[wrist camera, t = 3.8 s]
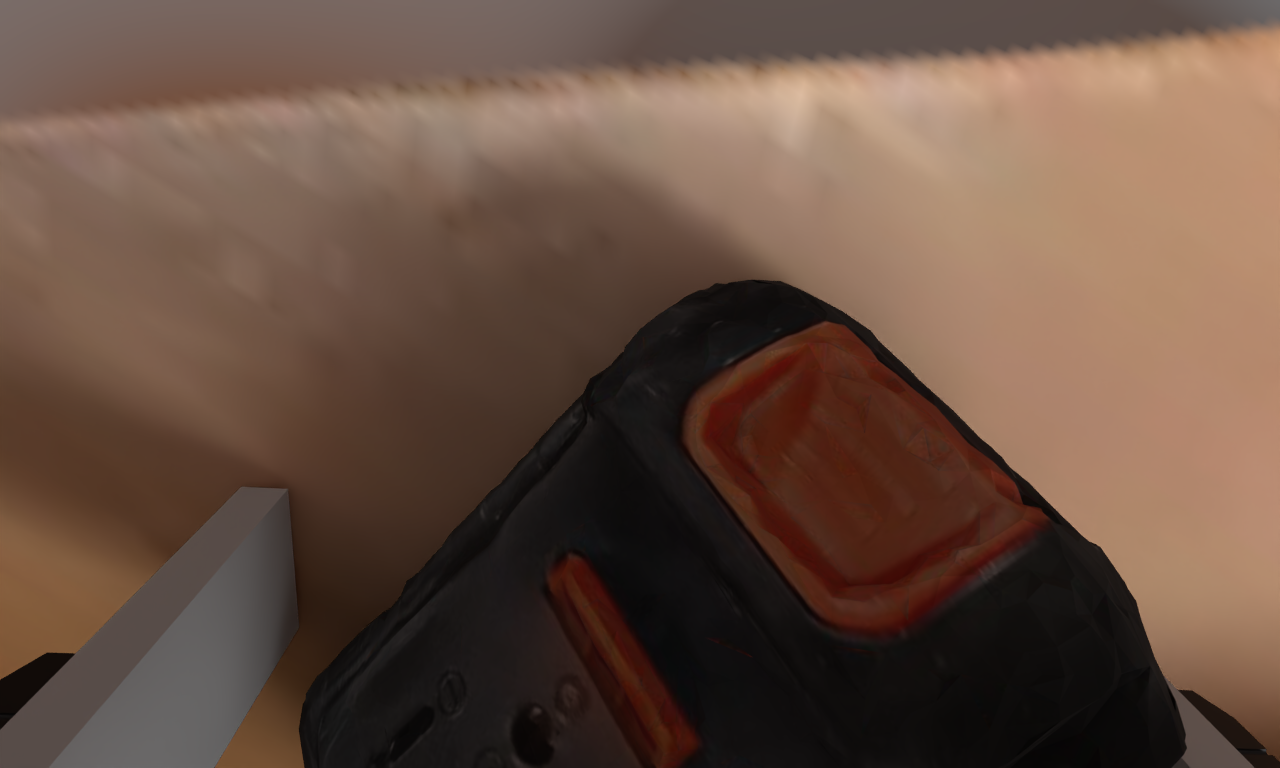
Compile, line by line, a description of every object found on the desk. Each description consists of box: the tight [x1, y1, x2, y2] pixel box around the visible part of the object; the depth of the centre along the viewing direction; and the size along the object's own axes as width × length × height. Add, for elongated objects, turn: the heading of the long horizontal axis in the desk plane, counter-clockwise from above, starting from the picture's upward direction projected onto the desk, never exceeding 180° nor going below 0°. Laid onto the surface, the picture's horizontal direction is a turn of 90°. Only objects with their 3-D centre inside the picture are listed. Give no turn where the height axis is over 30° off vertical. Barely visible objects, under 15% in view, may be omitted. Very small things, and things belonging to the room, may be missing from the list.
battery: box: [299, 280, 1187, 768], centre depth 11 cm, size 12×8×7 cm
